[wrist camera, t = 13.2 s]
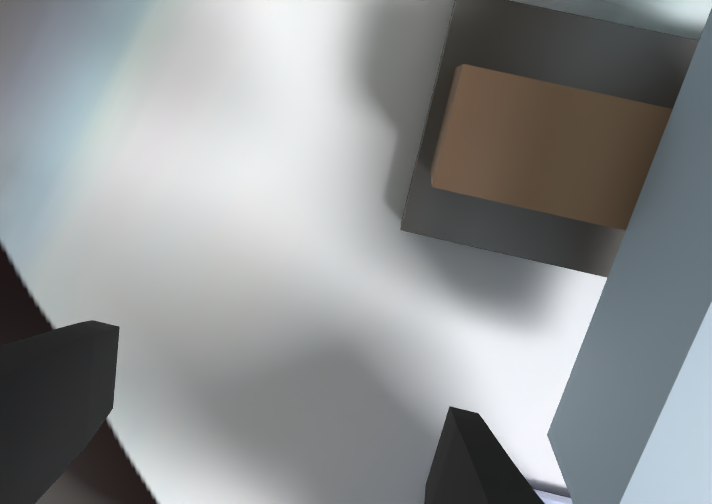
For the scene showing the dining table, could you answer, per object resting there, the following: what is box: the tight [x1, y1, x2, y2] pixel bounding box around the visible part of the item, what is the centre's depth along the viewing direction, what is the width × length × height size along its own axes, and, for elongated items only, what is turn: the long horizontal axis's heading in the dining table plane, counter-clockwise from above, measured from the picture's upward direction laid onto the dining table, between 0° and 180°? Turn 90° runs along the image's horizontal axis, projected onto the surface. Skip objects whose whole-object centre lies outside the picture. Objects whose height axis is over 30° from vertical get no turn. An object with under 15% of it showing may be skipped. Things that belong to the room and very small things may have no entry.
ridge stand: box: [401, 0, 699, 278], centre depth 17 cm, size 16×8×4 cm, turn 78°
